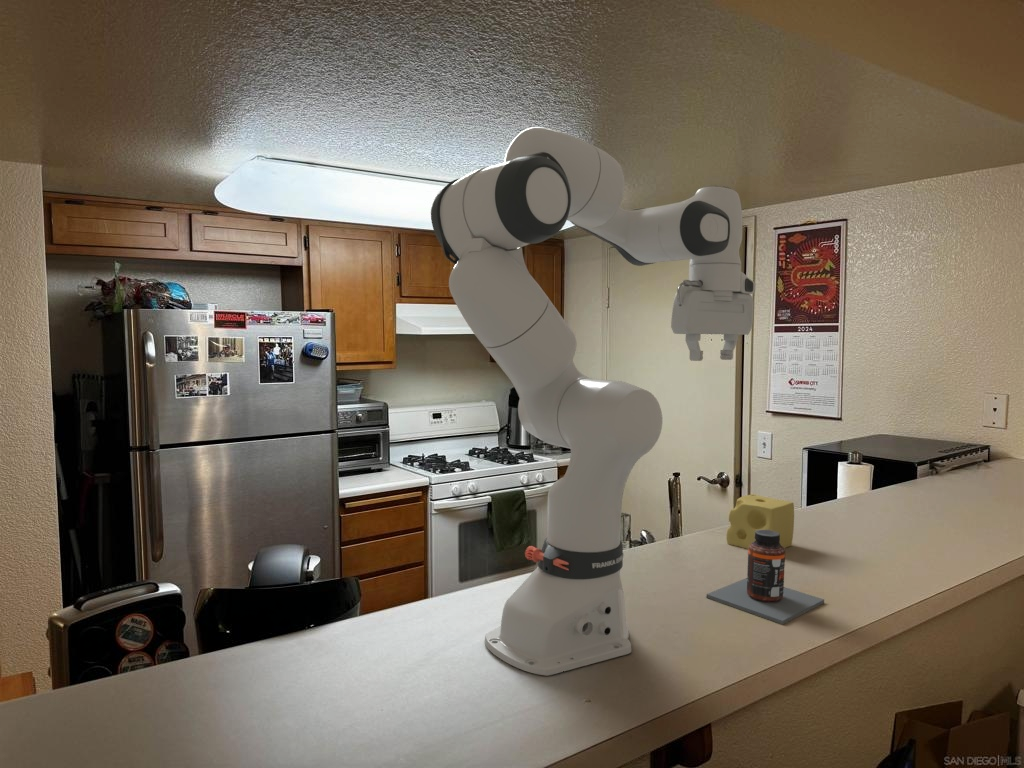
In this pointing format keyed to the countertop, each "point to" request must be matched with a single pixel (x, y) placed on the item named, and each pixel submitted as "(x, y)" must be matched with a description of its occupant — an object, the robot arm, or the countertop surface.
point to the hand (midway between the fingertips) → (711, 360)
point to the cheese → (760, 520)
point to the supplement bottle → (766, 567)
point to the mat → (774, 611)
